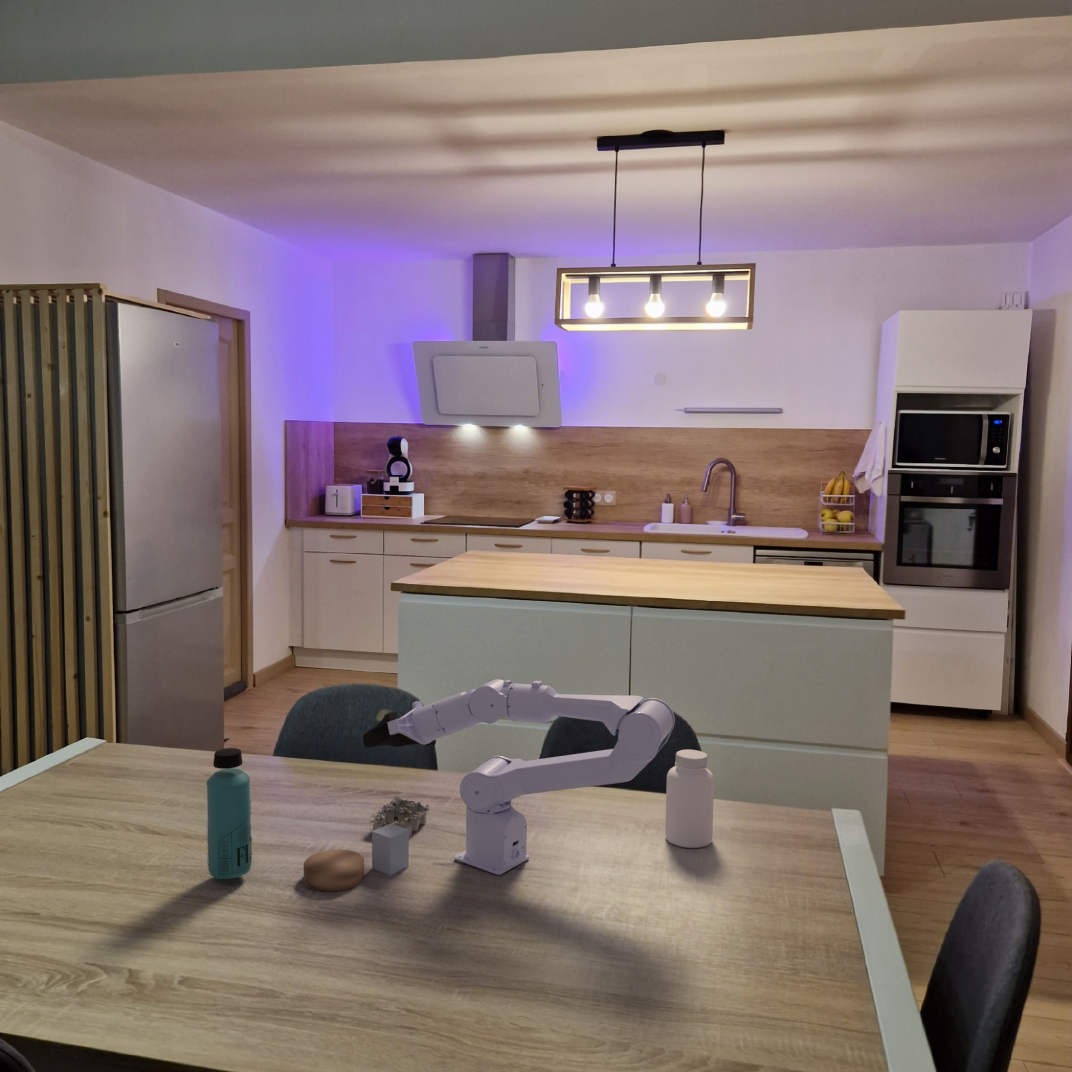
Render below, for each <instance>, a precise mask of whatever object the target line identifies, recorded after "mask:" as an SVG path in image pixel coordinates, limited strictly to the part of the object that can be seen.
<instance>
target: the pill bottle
mask: <svg viewBox="0 0 1072 1072" xmlns="http://www.w3.org/2000/svg"><path fill="white" fill-rule="evenodd" d="M707 765H708V754H707V753H706V752H704V751H702V750H701V751H700V750H696V749H681V750H679V751H676V753H675V761H674V766H673V767H671V768H670V769H669V770H668V771H667V775H666V792H665V793H666V794H665V796H666V797H665V830H664V832H665V838H666V840H667V841H668V842H669V843H670V844H673V845H675V846H677V847H681V848H685V849H686V848H687V849H688V848H689V849H697V848H704V847H707V846H709V845H710V844H711V842H712V840H713V827H714V824H713V823H714V797H715V795H714V794H715V776H714V774H713V773H712V771H710V769H708V768H707Z"/></svg>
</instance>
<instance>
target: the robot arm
mask: <svg viewBox="0 0 1072 1072" xmlns="http://www.w3.org/2000/svg"><path fill="white" fill-rule="evenodd" d="M644 698H645V697H643V696H639V695H616V694H615V695H613V694H612V695H611V694H610V695H608V694H571V693H570V694H569V693H568V694H567V693H566V694H563V693H562V694H561V693H557V691H556V690H555V689H554V688H553V687H552V686H550V685H543V681H542V680H534V681H532V682H531V684H529V683H527V684H526V683H515V682H514V683H513V681H512V680H511V679H506V680H503V679H498V678H496V679H495V678H491V679H489V680H488V681H486V683H484V684H482V685H480V686H479V687H477V688H470V689H469V690H466V691H461V692H459V693H456V694H453V695H451V696H448V697H445V698H443V699H440V700H437V701H435V702H432V703H429V704H427V705H424V706H423V703H422V701H418V700H416V701H414V702H412V704H411V705H412V709H411V710H410V711H408V712H407V713H406V714H404V715H403V716H401V717H400V718H399V715H398V712H397V711H390V712H387V713H385V714H384V716H383V718H382V719H381V720H380V722H379V723H377V724H376V725H375V726H373V727H372V728H371V729H369V730H368V731H366V732H365V733H364V734H363V735H362V740H363V745H364V748H376V747H384V746H390V747H392V748H393V747H394V748H400V747H404V746H405V747H406V746H413V745H423V746H427V747H430V746H431V747H432V746H435V745H436V743H437V740H439V739H441V738H444V737H447V736H451V735H453V734H456V733H458V732H461V731H464V730H467V729H469V728H473V727H475V726H476V725H477V724H481V723H486V724H489V725H491V724H493V723H496V722H498V721H499V720H500V719H502V718H503V719H505V720H508V721H518V722H519V721H520V722H530V723H531V722H533V723H544V724H545V723H546V724H547V723H550V722H551V721H552V720H553V719H554V718H555V716H556V717H562V718H564V717H565V718H571V719H579V720H587V721H595V722H602V723H603V724H604V726H605V727H606V728H607V730H608V731H609V732H610V734H611V735H612V736H616V735H618V736H617V737H618V739H617V742H616V743H615V746H614V748H608V749H603V750H596V751H588V752H581V753H575V754H567V755H561V756H559V755H558V756H553V757H546V758H537V759H532V760H531V759H530V760H523V759H522V758H508V757H506V756H501V755H493V756H491V757H489V758H487V759H486V760H485V761H484V762H483V763H482V764H481V765H480V766H478V767H477V768H475V769H474V770H473V771H471V772H469V773H467V774H465V776H463V778H462V779H461V781H460V784H459V795H460V798H461V800H462V802H463V803H464V804H465V806H466V807H465V811H466V815H465V819H466V820H465V850H463V851H461V852H459V853H457V854H455V855H454V857H453V859H454V860H456V861H458V862H461V863H464V864H465V865H466V864H467V865H470V866H471V867H475V868H478V869H480V870H483V871H486V872H489V873H491V874H493V875H496V876H500V875H502V874H503V875H504V874H505V873H506V872H508V871H510V870H512V869H513V868H514V867H516V866H518V865H520V864H522V863H524V862H525V861H527V860H529V859H530V855H529V854H527V839H528V838H527V837H528V836H527V831H528V827H527V826H528V825H527V819H526V817H525V815H524V814H523V813H522V812H519V811H518V810H517V809H515V808H514V807H513V804H512V800H514V799H516V798H519V797H521V796H524V795H525V796H526V795H533V794H542V793H549V792H555V791H565V790H571V789H573V790H574V789H582V788H587V787H588V788H589V787H594V786H595V787H597V786H605V785H612V784H621V783H625V782H626V783H627V782H630V781H632V780H633V779H634V778H635V777H636V776H637V775H639V773H640V772H641V771H642V770H643V769H644V768H645V767H646V766H647V765H648V764H649V763H650V762H651V761H653V759H654V758H655V757H656V755H658V753H659V752H660V751H661V750H662V748H663V747H664V746H665V745H666V744H667V742H668V740H669V738H670V736H671V734H672V731H673V729H674V727H675V724H676V718H675V713H674V711H673V709H672V707H671V706H670V704H668V703H667V702H665V701H664V700H662V699H660V698H658V697H657V698H655V697H649V698H646V699H644Z"/></svg>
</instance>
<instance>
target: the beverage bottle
mask: <svg viewBox="0 0 1072 1072" xmlns="http://www.w3.org/2000/svg"><path fill="white" fill-rule="evenodd" d="M242 765H243V755H242V751H241V749H240V748H236V747H235V748H234V747H226V748H222V749H218V750H216V751H215V752H214V754H213V768H215V769H219V770H217V771H215V772H214V773H213V774H212V775H211V776H209V778H207V781H206V793H207V794H206V795H207V797H206V798H207V799H206V800H207V805H206V807H207V821H206V822H207V833H206V836H207V838H206V841H207V845H206V851H207V856H206V857H207V858H206V863H207V867H206V869H207V870H208V872H209V875H210V876H211V877H213V878H215V879H216V878H217V879H224V880H225V879H234V878H238V877H241V876H244V875H246V874H247V873H249V871H251V867H252V864H253V861H252V860H253V849H252V848H253V847H252V842H253V838H252V833H253V832H252V824H251V823H252V822H251V816H252V810H251V804H252V800H251V790H250V789H251V784H250V782H251V777H250V776H249V775H248V773H246V772H245V771H244V770H242V769H240V768H239V767H240V766H242Z"/></svg>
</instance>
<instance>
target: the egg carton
mask: <svg viewBox="0 0 1072 1072" xmlns="http://www.w3.org/2000/svg"><path fill="white" fill-rule="evenodd" d="M429 808H430V805H429V804H426V805H425V806H424V805H422V803H421V802H420V801H418V802H415V801H414V800H410V799H408V798H407V799H404V798H401V797H399V796H394V798H393V799H392V800H391V801H390V802H389V803H387V804H385V805H383V806H382V808H381V809H379V810H378V811H377V812H374V813H372V814H370V819H369V820H370V822H369V823H370V824H372V831H374V830H376V829H379V828H381V827H383V826H386V825H388V824H390V823H391V824H394V825H397V826H400V827H402V828H405V829H408V830H409V839H410V838H411V837H412V832H418V830H419V828H420V825H424V824H426V823H427V815H428V814H427V813H428V812H429V811H430V810H429ZM395 818H397V822H395V821H394V819H395Z"/></svg>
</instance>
